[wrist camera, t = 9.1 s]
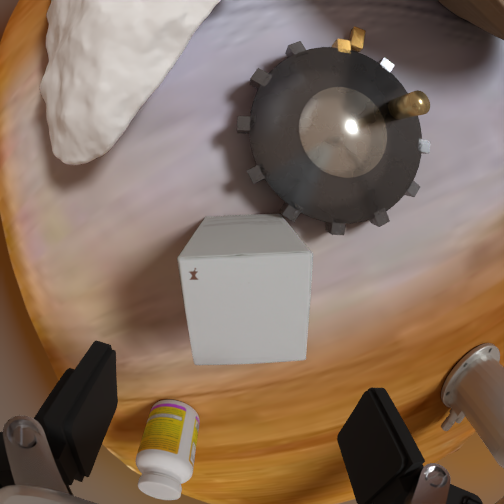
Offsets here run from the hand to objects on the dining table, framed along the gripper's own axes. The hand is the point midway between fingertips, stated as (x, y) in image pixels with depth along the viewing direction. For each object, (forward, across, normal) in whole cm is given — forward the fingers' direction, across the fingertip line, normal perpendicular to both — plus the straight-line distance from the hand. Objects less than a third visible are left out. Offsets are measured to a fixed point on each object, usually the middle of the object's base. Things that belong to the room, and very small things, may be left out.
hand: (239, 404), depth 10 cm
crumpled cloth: (+20, +16, -23) cm, 35 cm away
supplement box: (+20, -1, 0) cm, 20 cm away
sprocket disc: (+20, -6, -13) cm, 24 cm away
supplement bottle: (+20, +3, +24) cm, 32 cm away
